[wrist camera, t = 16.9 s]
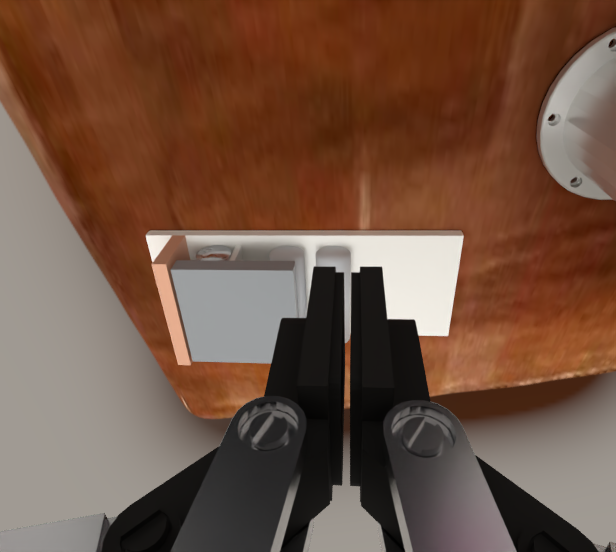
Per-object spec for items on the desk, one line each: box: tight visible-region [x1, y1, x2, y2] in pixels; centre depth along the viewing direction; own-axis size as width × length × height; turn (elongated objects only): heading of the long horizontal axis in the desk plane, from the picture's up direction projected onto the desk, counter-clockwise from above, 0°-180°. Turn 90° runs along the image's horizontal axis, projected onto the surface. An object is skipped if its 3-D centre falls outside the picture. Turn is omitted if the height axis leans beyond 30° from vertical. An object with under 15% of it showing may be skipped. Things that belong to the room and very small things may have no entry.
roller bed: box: [146, 230, 464, 365], centre depth 41 cm, size 28×11×6 cm, turn 93°
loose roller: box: [196, 245, 231, 261], centre depth 42 cm, size 3×9×3 cm, turn 3°
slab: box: [171, 260, 299, 363], centre depth 40 cm, size 10×10×2 cm
